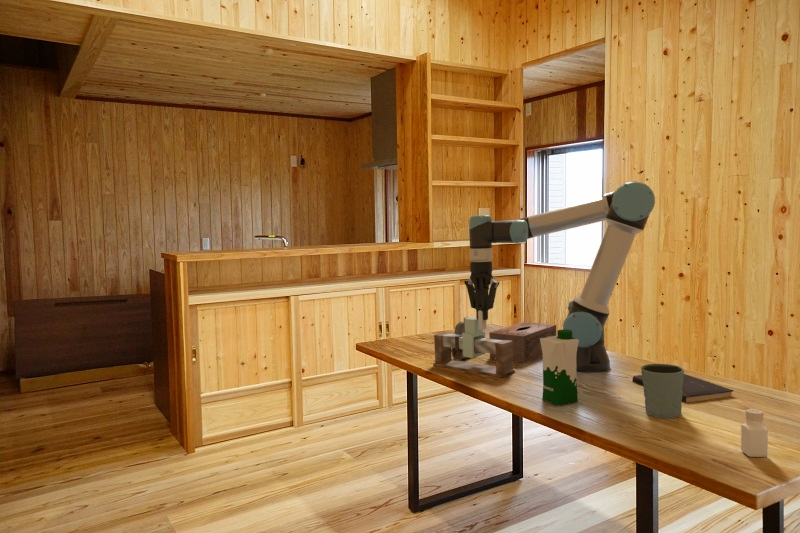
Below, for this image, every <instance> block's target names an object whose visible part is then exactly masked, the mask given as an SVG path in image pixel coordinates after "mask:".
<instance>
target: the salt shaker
mask: <svg viewBox="0 0 800 533" xmlns="http://www.w3.org/2000/svg"><path fill="white" fill-rule="evenodd" d="M763 421H764V411H763V410H762V409H761V410H760V409H757V408H756V409H755V408H747V409H745V423H742V424H741V425H740V427H741V428H740V432H741V433H740V450H741V452H743V453H744V454H745V455H746V456H748V457H750V458H767V457H768V455H769V454H768V452H769V451H768V449H769V448H768V447H769V445H768V444H769V443H768V442H769V431H768V430H769V429H768V428H767V426H764V424H763Z"/></svg>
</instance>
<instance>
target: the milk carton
mask: <svg viewBox="0 0 800 533" xmlns="http://www.w3.org/2000/svg"><path fill="white" fill-rule="evenodd" d="M540 342H541V348H542V354H543V355H542V401H545V402H548V403H550V404H552V405H554V406H556V407H561V406H566V405H570V404H576V403H579V398H578V385H577V377H578V376H577V372H578V371H576V353H577V348H578V343H579V340H578V339H576V338H573V337H572V330H563V329H558V330H557V335H556V336H552V337H547V338H540Z"/></svg>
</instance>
